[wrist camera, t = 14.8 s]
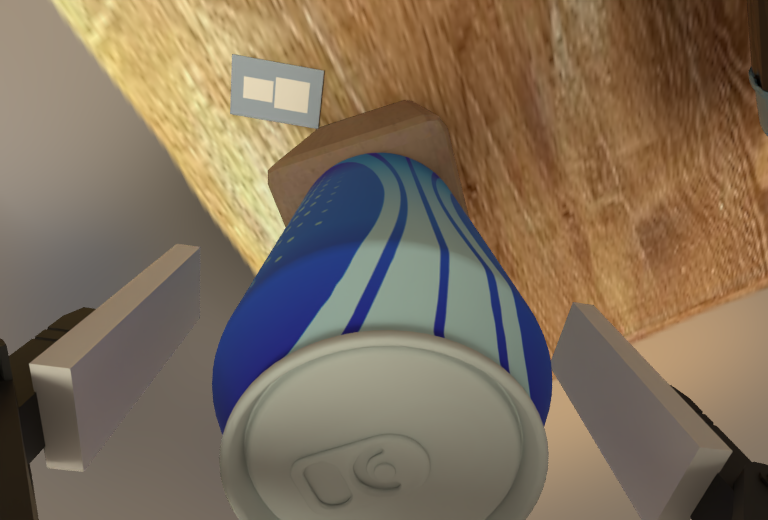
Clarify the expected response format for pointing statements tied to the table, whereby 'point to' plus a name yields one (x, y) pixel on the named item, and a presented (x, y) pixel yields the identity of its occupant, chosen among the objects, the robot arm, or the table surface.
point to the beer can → (382, 363)
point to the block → (365, 150)
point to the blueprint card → (276, 91)
